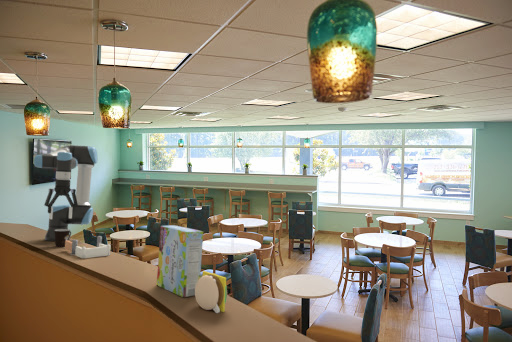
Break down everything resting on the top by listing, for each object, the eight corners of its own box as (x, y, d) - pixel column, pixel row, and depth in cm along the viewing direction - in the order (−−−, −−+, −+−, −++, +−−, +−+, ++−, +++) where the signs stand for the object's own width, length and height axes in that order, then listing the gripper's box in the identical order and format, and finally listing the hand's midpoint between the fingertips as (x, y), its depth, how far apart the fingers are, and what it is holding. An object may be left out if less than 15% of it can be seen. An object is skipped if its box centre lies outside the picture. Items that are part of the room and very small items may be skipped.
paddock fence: (68, 254, 209) (69, 238, 209) (98, 250, 221) (99, 235, 222) (79, 258, 198) (80, 242, 199) (110, 255, 211) (111, 239, 211)
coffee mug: (57, 248, 223) (58, 231, 223) (50, 246, 228) (51, 229, 228) (76, 246, 232) (77, 230, 232) (69, 244, 237) (70, 228, 237)
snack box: (201, 294, 149) (204, 230, 150) (182, 298, 143) (186, 232, 144) (173, 282, 165) (176, 224, 165) (155, 285, 159) (158, 225, 159)
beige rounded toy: (189, 306, 135) (191, 273, 135) (206, 301, 141) (208, 270, 142) (211, 315, 127) (213, 280, 127) (228, 310, 133) (230, 276, 134)
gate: (77, 252, 209) (78, 240, 209) (72, 253, 207) (73, 240, 207) (68, 248, 218) (69, 236, 218) (63, 249, 216) (64, 237, 216)
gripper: (43, 178, 199) (41, 220, 199) (85, 180, 216) (83, 218, 215) (39, 178, 204) (36, 218, 204) (80, 179, 221) (78, 217, 220)
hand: (60, 218), depth 210 cm, fingers open, 10 cm apart
